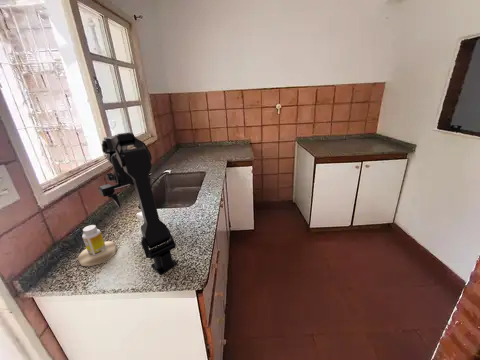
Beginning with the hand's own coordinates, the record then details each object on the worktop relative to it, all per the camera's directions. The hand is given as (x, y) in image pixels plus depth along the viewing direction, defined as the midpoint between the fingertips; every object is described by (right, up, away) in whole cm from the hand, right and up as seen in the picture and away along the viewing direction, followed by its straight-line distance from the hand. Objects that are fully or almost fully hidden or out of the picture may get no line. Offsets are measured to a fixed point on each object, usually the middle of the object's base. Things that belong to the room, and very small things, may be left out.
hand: (131, 203), depth 91 cm
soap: (+1, -9, +14) cm, 17 cm away
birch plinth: (-7, -18, -10) cm, 22 cm away
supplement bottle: (-7, -17, -11) cm, 21 cm away
